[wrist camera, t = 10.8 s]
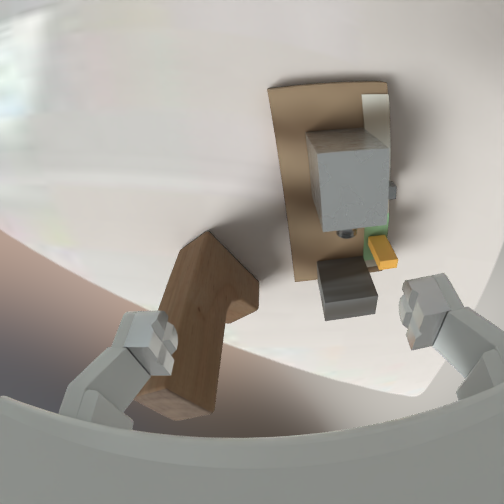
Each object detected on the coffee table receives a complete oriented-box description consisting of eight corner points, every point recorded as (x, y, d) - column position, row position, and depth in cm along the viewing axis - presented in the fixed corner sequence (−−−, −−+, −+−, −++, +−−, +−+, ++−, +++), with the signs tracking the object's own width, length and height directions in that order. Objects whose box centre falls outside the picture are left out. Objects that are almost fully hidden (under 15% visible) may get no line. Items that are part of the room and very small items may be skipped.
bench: (267, 88, 22) (268, 98, 16) (381, 81, 21) (420, 92, 15) (293, 273, 34) (299, 324, 28) (378, 262, 32) (398, 309, 26)
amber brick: (368, 236, 28) (380, 261, 25) (384, 234, 28) (398, 259, 25) (367, 244, 29) (379, 270, 26) (384, 242, 28) (396, 267, 25)
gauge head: (305, 132, 23) (317, 153, 18) (389, 126, 22) (421, 147, 17) (313, 219, 28) (324, 258, 23) (388, 210, 27) (411, 246, 22)
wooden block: (260, 281, 35) (256, 432, 20) (231, 297, 36) (214, 439, 22) (208, 228, 31) (165, 388, 16) (178, 249, 32) (128, 398, 18)
